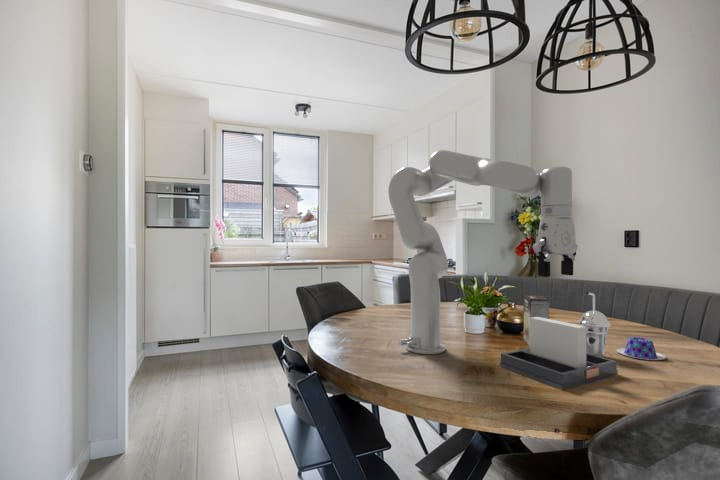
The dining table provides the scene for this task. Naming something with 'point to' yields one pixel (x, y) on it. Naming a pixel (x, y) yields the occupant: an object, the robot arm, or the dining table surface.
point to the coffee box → (534, 312)
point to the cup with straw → (595, 330)
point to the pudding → (641, 349)
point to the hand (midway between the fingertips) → (555, 275)
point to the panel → (558, 341)
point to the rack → (557, 369)
